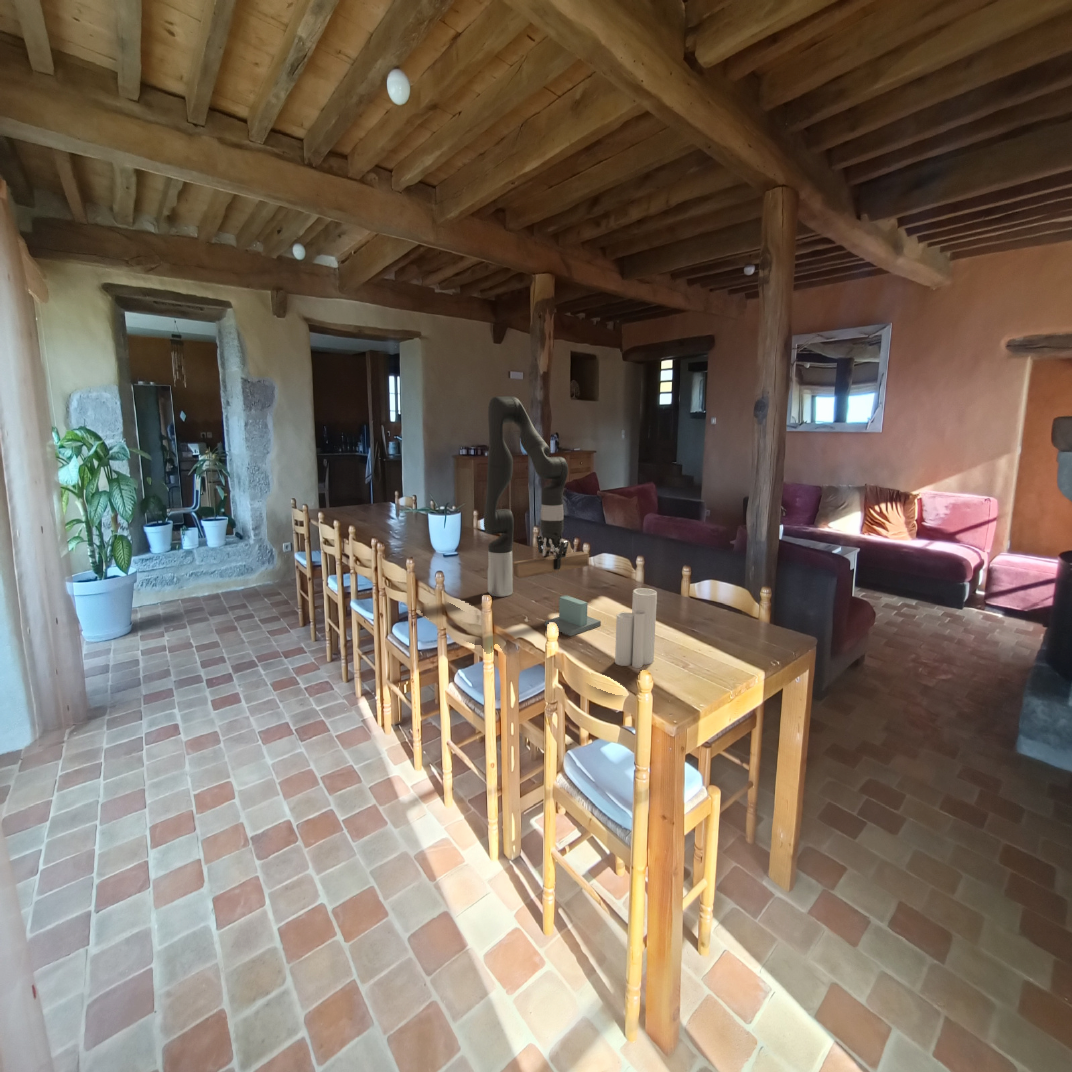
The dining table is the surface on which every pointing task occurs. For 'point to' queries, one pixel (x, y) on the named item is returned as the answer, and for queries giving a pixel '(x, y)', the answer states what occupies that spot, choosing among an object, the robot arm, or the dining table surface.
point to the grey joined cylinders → (637, 630)
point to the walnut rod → (549, 564)
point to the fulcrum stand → (573, 616)
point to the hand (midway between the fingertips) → (552, 567)
